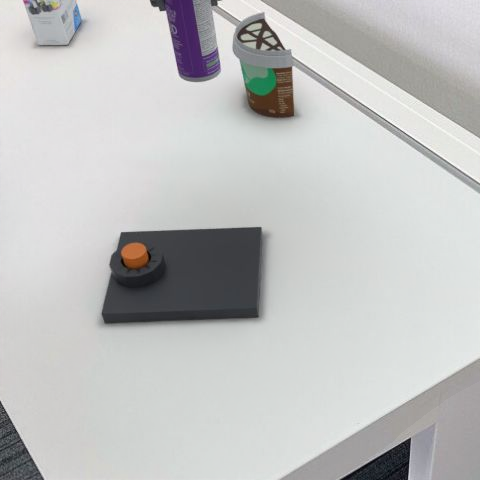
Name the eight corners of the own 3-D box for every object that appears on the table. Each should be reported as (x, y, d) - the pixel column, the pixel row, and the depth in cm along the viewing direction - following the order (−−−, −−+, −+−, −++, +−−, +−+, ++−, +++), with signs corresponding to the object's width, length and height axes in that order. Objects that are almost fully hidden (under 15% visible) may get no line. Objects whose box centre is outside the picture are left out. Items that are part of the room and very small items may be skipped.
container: (169, 76, 83) (138, -73, 72) (195, 57, 86) (170, -89, 75) (204, 86, 82) (178, -64, 71) (229, 67, 84) (208, -81, 73)
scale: (104, 323, 79) (96, 303, 77) (123, 241, 88) (117, 220, 86) (258, 317, 80) (255, 296, 77) (262, 235, 88) (260, 215, 86)
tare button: (122, 270, 81) (119, 259, 80) (126, 253, 83) (123, 242, 82) (147, 269, 81) (144, 258, 80) (150, 252, 83) (147, 242, 82)
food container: (229, 87, 110) (219, 18, 103) (270, 78, 112) (263, 10, 104) (254, 131, 103) (245, 60, 95) (297, 121, 104) (292, 51, 96)
